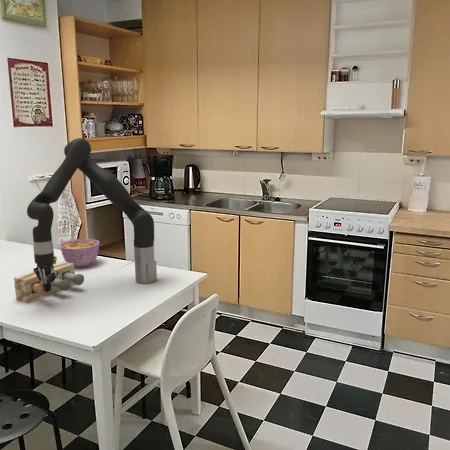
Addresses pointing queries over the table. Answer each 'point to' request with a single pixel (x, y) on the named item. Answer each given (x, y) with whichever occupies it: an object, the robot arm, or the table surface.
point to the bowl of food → (80, 251)
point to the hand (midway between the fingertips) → (47, 291)
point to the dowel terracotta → (38, 288)
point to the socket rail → (39, 282)
